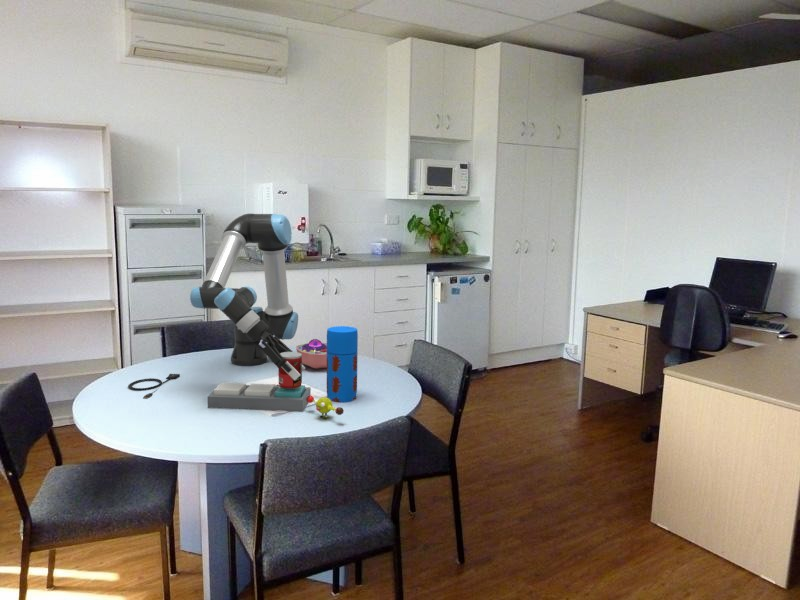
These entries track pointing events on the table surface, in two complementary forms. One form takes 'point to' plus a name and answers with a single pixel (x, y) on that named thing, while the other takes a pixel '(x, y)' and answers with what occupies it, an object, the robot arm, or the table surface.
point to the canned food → (284, 377)
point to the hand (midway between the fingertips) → (300, 374)
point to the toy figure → (324, 406)
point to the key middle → (260, 390)
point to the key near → (230, 389)
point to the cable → (170, 377)
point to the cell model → (313, 354)
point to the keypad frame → (258, 401)
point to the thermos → (342, 363)
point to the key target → (290, 392)
